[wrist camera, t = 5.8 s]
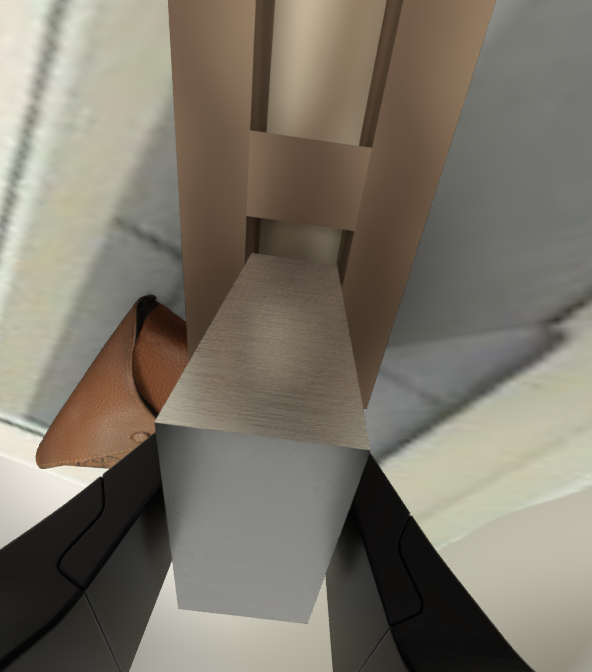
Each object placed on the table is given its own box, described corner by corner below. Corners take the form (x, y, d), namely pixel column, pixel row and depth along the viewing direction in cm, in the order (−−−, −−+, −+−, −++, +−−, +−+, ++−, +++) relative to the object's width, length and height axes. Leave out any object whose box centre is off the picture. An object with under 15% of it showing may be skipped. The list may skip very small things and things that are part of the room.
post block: (494, -154, 11) (601, -333, 7) (357, 358, 23) (366, 408, 18) (210, -200, 11) (144, -410, 7) (213, 339, 23) (189, 385, 18)
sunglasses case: (138, 477, 31) (63, 523, 25) (100, 417, 32) (20, 447, 26) (251, 362, 23) (182, 389, 17) (195, 290, 25) (113, 292, 19)
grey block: (336, 265, 11) (370, 450, 5) (310, 395, 14) (307, 623, 8) (251, 252, 11) (154, 422, 4) (243, 386, 14) (178, 608, 8)
